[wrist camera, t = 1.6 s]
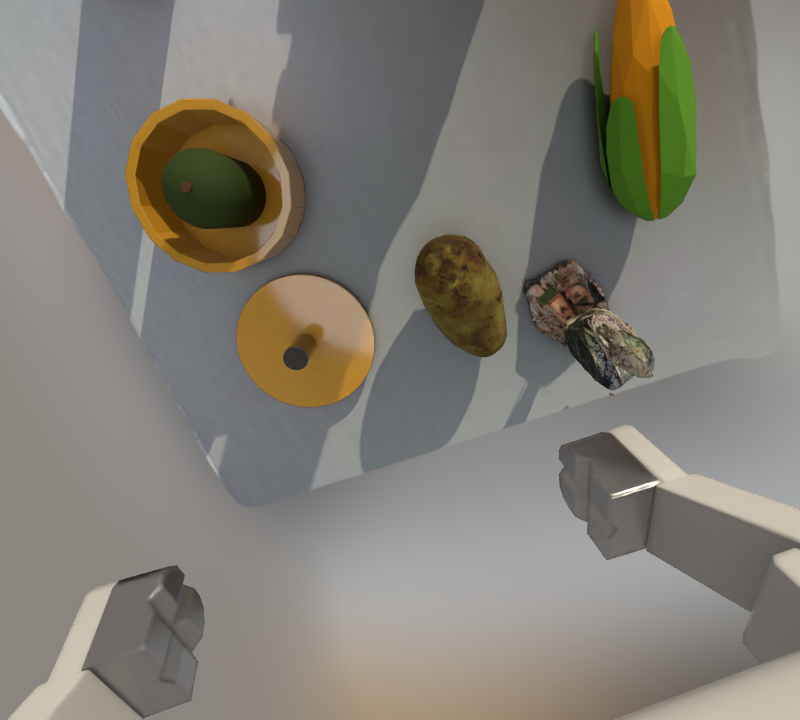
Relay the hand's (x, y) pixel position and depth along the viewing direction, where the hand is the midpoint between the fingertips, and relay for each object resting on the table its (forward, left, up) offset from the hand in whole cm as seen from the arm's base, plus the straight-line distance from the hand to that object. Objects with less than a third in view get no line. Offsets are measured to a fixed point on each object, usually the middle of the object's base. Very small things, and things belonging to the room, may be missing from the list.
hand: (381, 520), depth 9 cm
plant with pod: (+4, +19, -39) cm, 43 cm away
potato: (+2, +7, -39) cm, 39 cm away
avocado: (-8, -15, -38) cm, 42 cm away
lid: (+7, -9, -38) cm, 40 cm away
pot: (-8, -15, -38) cm, 42 cm away
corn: (-15, +22, -39) cm, 47 cm away
